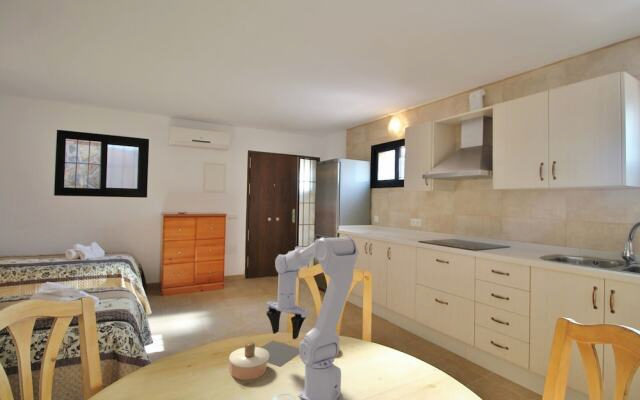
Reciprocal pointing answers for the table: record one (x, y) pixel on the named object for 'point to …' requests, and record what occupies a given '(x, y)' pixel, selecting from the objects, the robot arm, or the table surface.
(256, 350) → the lid
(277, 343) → the mat
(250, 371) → the bowl
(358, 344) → the table surface
